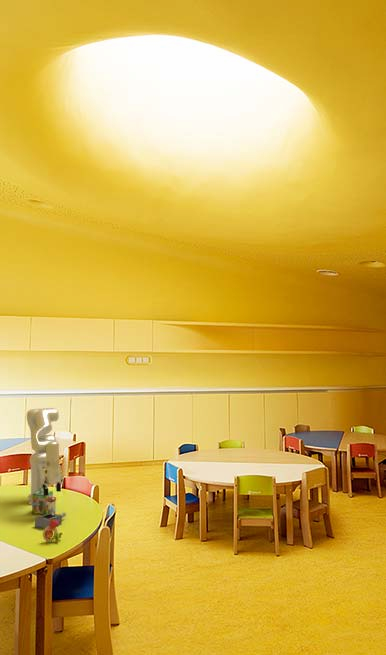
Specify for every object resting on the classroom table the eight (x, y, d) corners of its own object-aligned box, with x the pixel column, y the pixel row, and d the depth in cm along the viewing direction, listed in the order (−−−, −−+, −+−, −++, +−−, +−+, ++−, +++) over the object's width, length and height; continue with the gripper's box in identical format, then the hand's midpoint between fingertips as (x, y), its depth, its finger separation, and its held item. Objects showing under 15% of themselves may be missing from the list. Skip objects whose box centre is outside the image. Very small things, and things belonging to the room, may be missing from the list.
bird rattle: (46, 549, 221) (64, 540, 223) (37, 528, 221) (55, 519, 223) (48, 544, 227) (65, 535, 229) (39, 524, 227) (56, 515, 229)
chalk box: (45, 514, 267) (45, 489, 269) (31, 514, 269) (31, 488, 270) (53, 510, 276) (53, 485, 278) (39, 509, 278) (40, 484, 279)
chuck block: (34, 527, 246) (34, 517, 247) (58, 518, 261) (58, 509, 261) (47, 530, 241) (47, 520, 242) (70, 520, 256) (70, 511, 257)
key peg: (46, 517, 263) (46, 498, 263) (52, 515, 267) (52, 496, 267) (51, 518, 260) (51, 499, 261) (57, 516, 264) (57, 497, 265)
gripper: (45, 466, 257) (45, 497, 255) (67, 461, 272) (67, 490, 270) (36, 465, 260) (36, 496, 258) (58, 460, 275) (58, 489, 273)
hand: (52, 493), depth 264 cm, fingers open, 9 cm apart
